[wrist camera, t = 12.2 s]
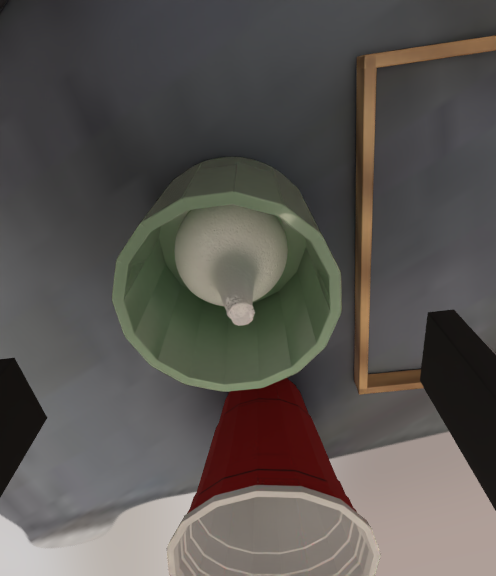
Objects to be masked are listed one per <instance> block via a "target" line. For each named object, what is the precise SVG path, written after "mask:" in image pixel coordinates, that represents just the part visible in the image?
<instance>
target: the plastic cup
mask: <svg viewBox="0 0 496 576" xmlns="http://www.w3.org/2000/svg"><path fill="white" fill-rule="evenodd" d="M380 556H381V553H380V550H379V547H378V545H377V542H376V539H375V537H374V534H373V531H372V529H371V527H370V525H369V524H368V522H367V520H365V519H364V518H363V517H362V516H360V515H359V514H358V513H357V512H356V510H355V509H354V508H353V506H352V504H351V502H350V500H349V498H348V497H347V496H346V495H345V492H344V490H343V488H342V485H341V483H340V481H338V480H337V477H336V475H335V473H334V471H333V468H332V466H331V463H330V461H329V458H328V456H327V454H326V451H325V449H324V446H323V444H322V442H321V439H320V437H319V435H318V432H317V430H316V427H315V425H314V423H313V420H312V418H311V416H310V415H309V414H308V411H307V408H306V406H305V403H304V401H303V399H302V396H301V394H300V391H299V390H298V389H297V387H296V385H295V384H293V383H292V382H291V381H290V380H289V379H288V378H285V379H282V380H280V381H278V382H275V383H273V384H271V385H269V386H266V387H264V388H263V387H262V388H258V389H248V390H239V391H230V392H229V394H228V396H227V398H226V400H225V403H224V406H223V410H222V414H221V417H220V421H219V423H218V425H217V427H216V430H215V433H214V436H213V440H212V443H211V446H210V450H209V453H208V456H207V460H206V463H205V466H204V470H203V473H202V476H201V480H200V483H199V486H198V490H197V493H196V495H195V496H194V498H193V501H192V504H191V507H190V510H189V511H188V513H187V514H186V515H185V516H184V518H183V520H182V521H181V523H180V525H179V527H178V528H177V530H176V532H175V533H174V535H173V537H172V539H171V540H170V542H169V545H168V547H167V558H168V570H169V575H170V576H375V574H376V570H377V567H378V563H379V560H380Z"/></svg>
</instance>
